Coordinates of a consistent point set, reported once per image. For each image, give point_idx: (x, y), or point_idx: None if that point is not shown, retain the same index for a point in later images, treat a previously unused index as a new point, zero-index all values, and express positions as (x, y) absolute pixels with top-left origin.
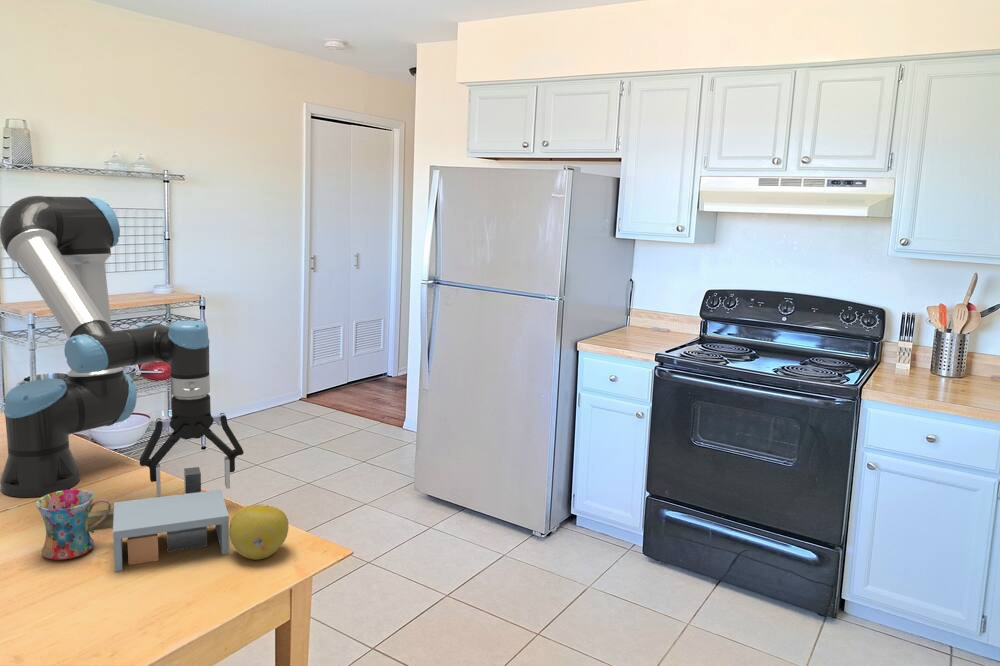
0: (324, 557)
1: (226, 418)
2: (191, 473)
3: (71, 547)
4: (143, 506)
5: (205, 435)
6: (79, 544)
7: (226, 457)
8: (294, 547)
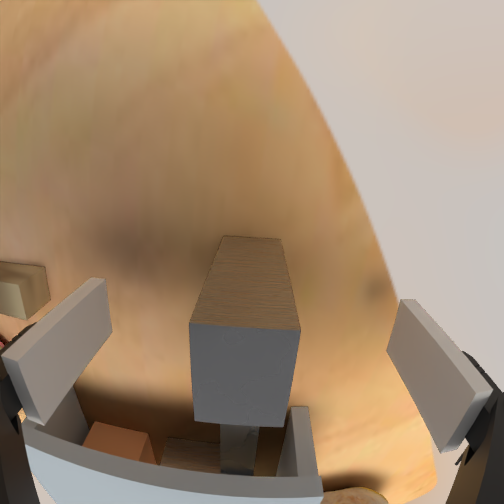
0: (406, 499)
1: None
2: (231, 411)
3: None
4: (85, 489)
5: None
6: None
7: (470, 416)
8: (392, 483)
